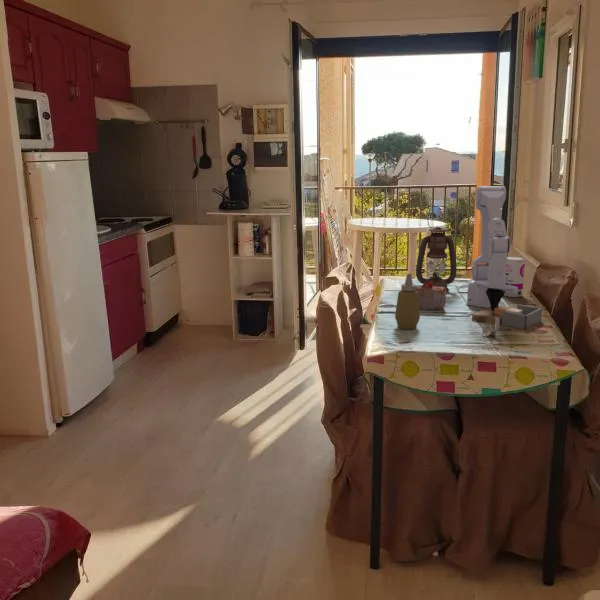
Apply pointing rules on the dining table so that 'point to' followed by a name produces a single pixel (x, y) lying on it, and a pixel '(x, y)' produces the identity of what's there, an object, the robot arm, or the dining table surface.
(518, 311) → the tile cream
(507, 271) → the supplement can
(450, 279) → the lantern
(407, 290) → the squeeze bottle
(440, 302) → the food item
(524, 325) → the box
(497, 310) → the tile terracotta
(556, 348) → the dining table surface
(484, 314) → the walnut plate
